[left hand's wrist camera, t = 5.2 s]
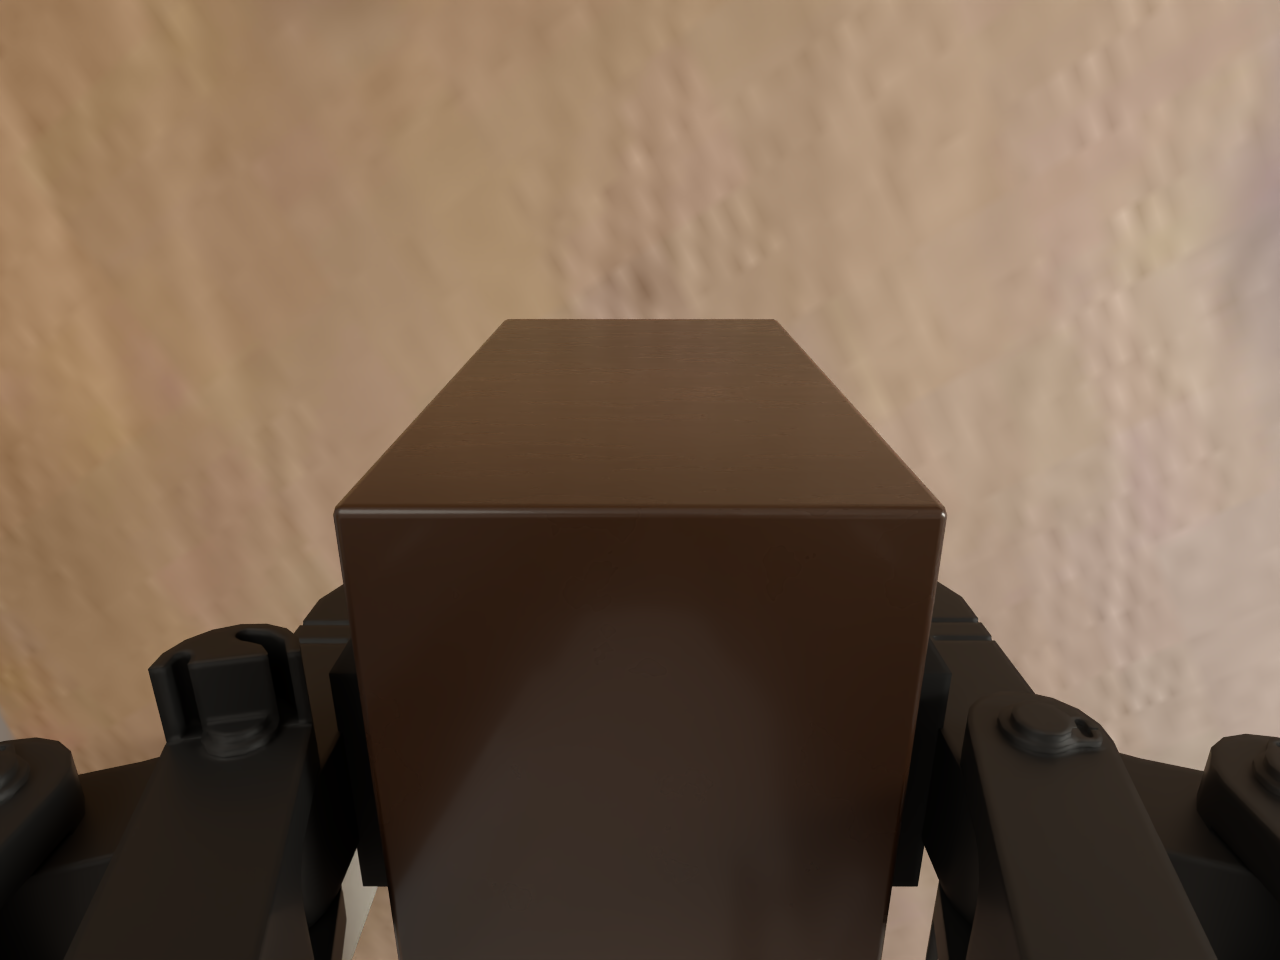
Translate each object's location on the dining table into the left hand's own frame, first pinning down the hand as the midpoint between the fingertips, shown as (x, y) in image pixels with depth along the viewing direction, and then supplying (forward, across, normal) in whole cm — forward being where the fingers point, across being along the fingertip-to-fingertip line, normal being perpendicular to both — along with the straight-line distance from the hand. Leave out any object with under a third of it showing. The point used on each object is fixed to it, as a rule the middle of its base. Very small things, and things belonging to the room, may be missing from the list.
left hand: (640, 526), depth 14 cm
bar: (0, 0, -9) cm, 9 cm away
